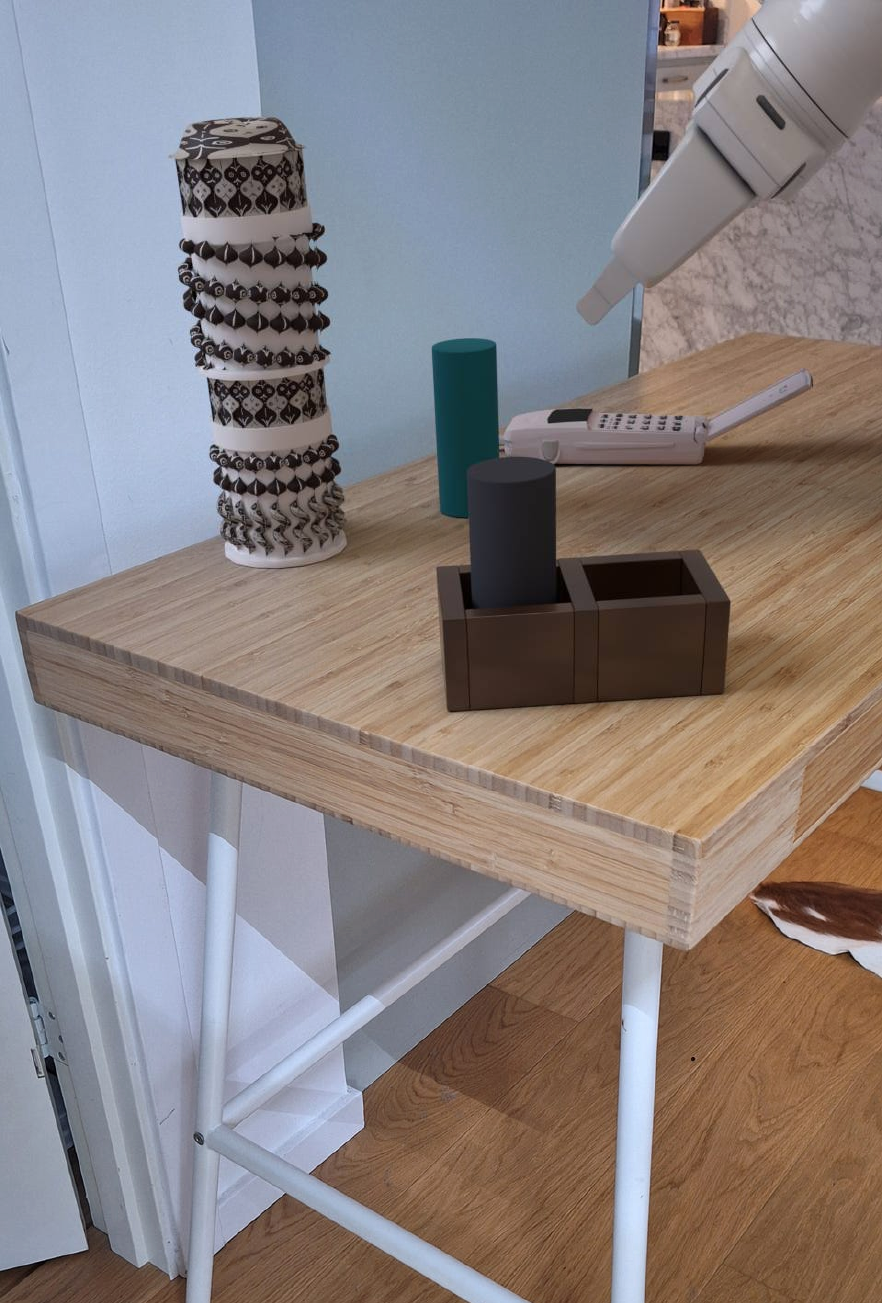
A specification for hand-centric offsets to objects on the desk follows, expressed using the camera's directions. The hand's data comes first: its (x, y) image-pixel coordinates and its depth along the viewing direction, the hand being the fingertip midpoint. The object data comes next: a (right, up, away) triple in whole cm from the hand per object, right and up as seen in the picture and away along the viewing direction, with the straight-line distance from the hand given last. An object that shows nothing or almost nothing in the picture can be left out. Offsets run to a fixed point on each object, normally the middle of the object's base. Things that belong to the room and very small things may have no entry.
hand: (597, 301), depth 88 cm
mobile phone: (+5, -4, +17) cm, 19 cm away
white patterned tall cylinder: (-21, -15, +4) cm, 26 cm away
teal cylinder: (-8, -11, +9) cm, 16 cm away
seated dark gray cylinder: (-6, -28, -16) cm, 32 cm away
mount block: (-3, -28, -16) cm, 32 cm away
